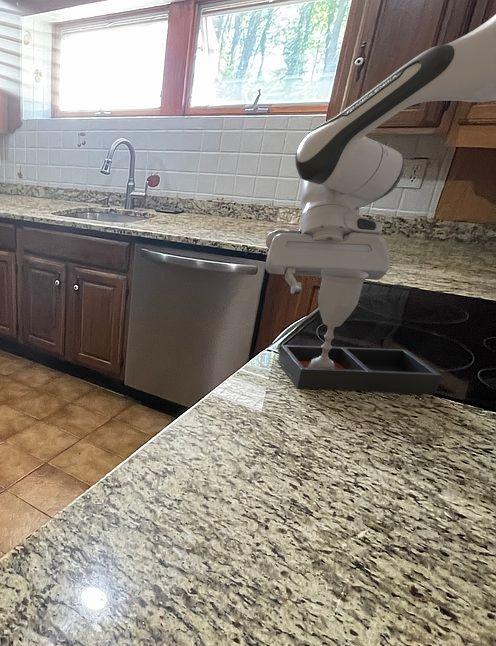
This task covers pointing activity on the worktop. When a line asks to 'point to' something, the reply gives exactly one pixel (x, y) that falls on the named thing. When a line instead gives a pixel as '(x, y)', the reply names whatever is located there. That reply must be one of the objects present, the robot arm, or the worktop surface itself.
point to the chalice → (336, 305)
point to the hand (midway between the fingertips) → (324, 294)
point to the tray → (359, 370)
